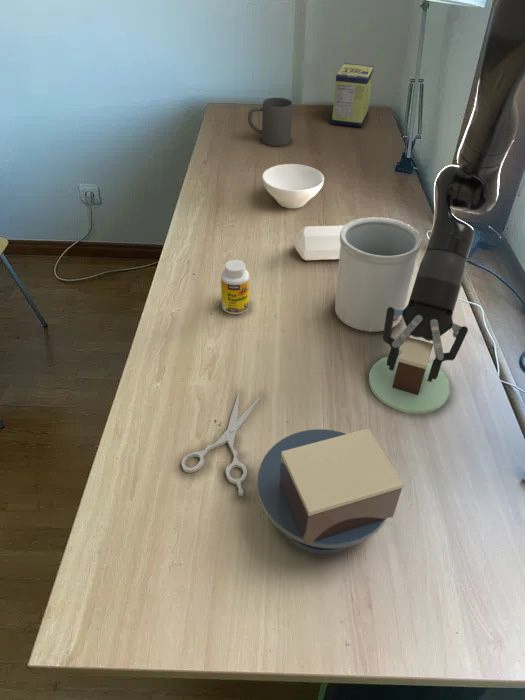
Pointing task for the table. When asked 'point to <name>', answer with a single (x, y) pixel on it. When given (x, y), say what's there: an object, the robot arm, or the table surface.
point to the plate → (424, 402)
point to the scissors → (225, 438)
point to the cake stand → (328, 488)
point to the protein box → (352, 94)
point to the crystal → (319, 242)
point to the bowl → (292, 184)
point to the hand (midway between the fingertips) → (410, 375)
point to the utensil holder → (374, 271)
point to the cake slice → (412, 365)
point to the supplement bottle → (235, 287)
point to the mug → (274, 121)
